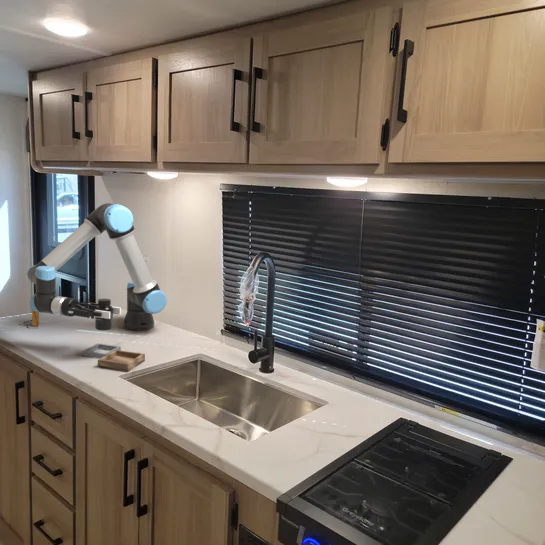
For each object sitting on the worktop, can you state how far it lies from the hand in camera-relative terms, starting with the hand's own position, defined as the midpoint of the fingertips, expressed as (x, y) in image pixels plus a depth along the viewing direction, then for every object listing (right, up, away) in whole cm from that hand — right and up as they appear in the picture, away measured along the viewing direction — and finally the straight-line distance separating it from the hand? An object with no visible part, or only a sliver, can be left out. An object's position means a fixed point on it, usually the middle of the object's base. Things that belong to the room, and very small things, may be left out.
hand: (115, 313), depth 197 cm
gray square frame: (-8, -18, +8) cm, 21 cm away
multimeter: (-56, -9, +42) cm, 70 cm away
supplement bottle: (-5, -7, +2) cm, 9 cm away
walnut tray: (+3, -20, -2) cm, 20 cm away
